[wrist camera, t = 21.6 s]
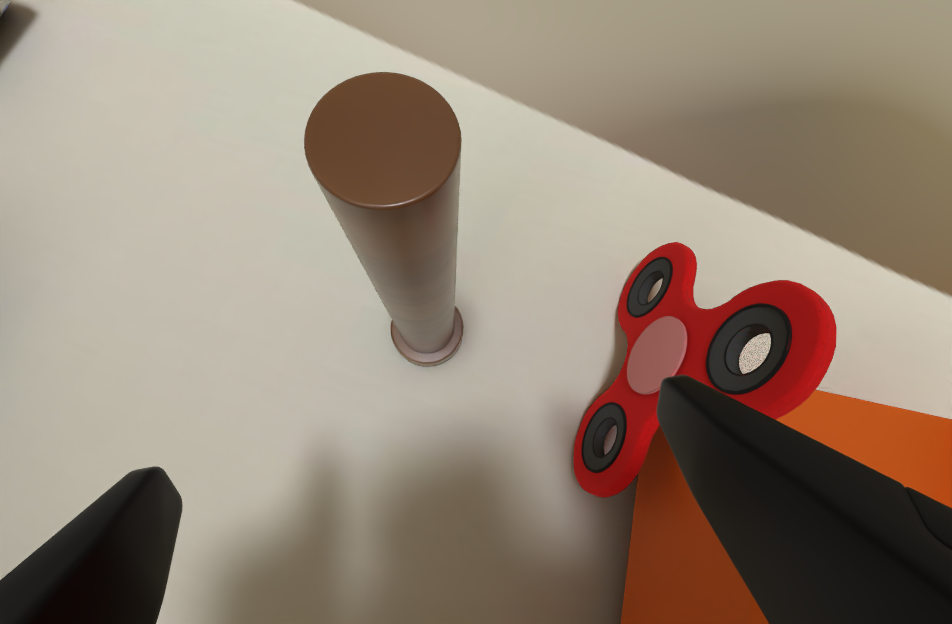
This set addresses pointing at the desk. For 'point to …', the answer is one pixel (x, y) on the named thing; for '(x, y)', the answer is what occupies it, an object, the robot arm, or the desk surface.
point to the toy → (699, 358)
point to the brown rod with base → (396, 199)
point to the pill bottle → (4, 5)
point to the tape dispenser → (697, 546)
